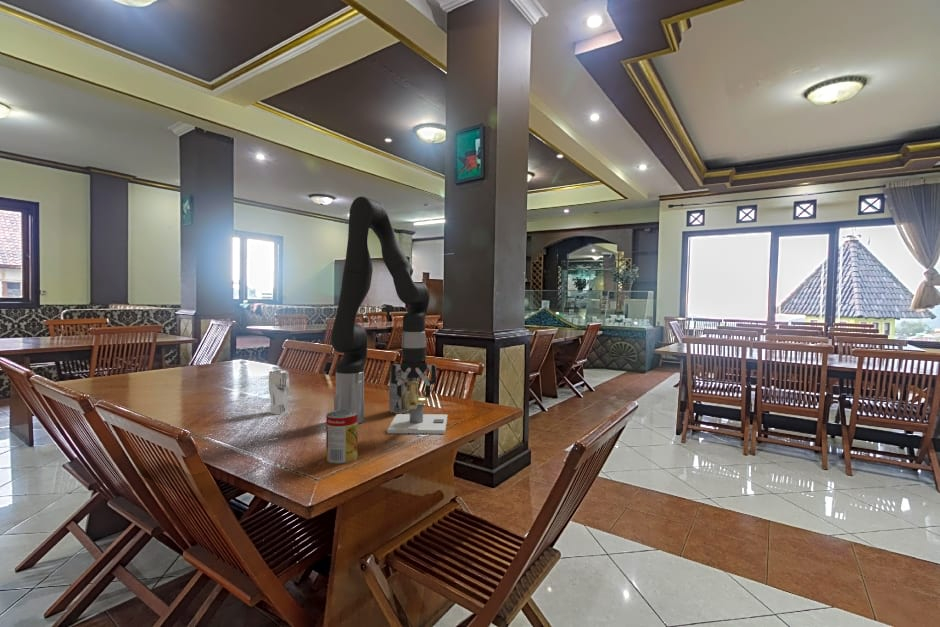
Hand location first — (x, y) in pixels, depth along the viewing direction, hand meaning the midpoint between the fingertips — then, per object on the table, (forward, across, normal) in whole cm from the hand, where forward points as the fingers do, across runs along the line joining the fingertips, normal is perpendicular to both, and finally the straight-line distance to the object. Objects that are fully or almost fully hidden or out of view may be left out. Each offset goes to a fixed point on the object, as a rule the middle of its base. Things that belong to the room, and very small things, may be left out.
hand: (413, 397), depth 137 cm
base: (+11, 0, +8) cm, 14 cm away
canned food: (+11, -16, -22) cm, 30 cm away
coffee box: (+11, -7, +26) cm, 29 cm away
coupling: (+4, 0, +5) cm, 6 cm away
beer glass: (+11, -52, +22) cm, 58 cm away
